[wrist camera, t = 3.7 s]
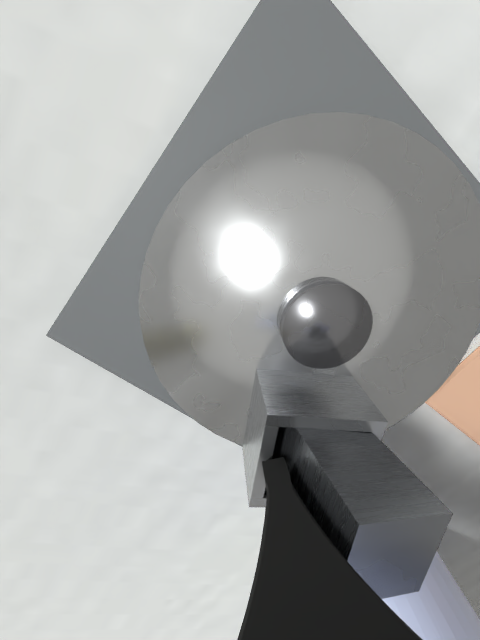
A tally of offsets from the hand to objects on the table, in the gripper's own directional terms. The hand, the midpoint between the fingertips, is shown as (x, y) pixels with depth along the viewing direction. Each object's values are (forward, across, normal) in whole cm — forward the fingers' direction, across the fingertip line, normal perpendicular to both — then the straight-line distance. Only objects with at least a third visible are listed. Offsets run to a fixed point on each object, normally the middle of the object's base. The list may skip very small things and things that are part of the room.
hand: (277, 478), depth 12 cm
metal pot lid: (+6, -3, -5) cm, 8 cm away
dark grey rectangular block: (+3, -2, 0) cm, 3 cm away
